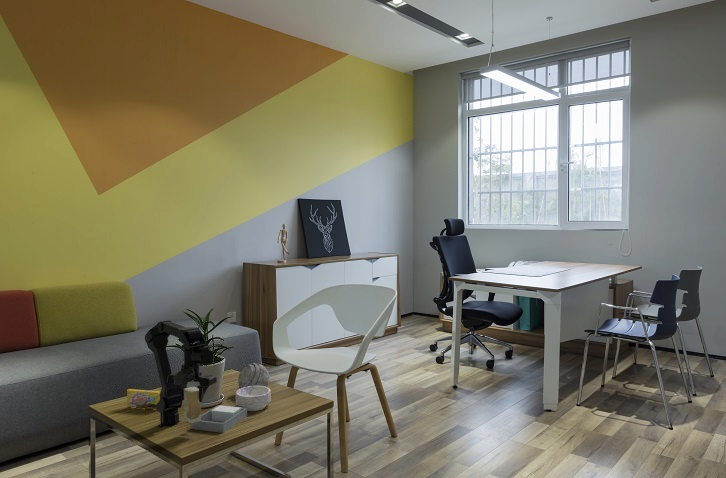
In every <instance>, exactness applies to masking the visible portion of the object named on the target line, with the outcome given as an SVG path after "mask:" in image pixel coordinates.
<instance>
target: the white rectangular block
mask: <svg viewBox="0 0 726 478" xmlns="http://www.w3.org/2000/svg"><path fill="white" fill-rule="evenodd" d="M215 407H216V406H215ZM240 411H241V407H240V406H229V405H219V406H218V407H216V408H215V409H213V410H212V420H217V421H227V420H228V419H230V418H231V417H233V416H234V415H236V414H237V413H239V412H240Z"/></svg>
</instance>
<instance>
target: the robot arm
mask: <svg viewBox="0 0 726 478" xmlns="http://www.w3.org/2000/svg"><path fill="white" fill-rule="evenodd" d="M170 336H173V337H175V338H178V342H180V343H181V346H180V349H182V350H183V364H181V368H180V370H179V371H175V372H172V368H171V365H170V361H169V356H168V353H167V352H168V351H167V346H168V343H169V338H170ZM206 340H207V339H205V336H204V335H203V332H202V331H201V329H200V328H199V327H197V326H190V327H189V326H188V327H187V326H183V325H181V324H178V323H175V322H172V320H169V319H168V320H162V321H160V320H159V322H157V323H156V325H154V326H153V327H152V328H150V329H149V330H148V331H147V332H146V333H145V335H144V341H145V343H146V346H147V347H148V349H149V350H150V351H151V352H152V353H153V355H154V359H155V364H156V368H157V373H158V376H159V382H160V385H161V389H160V394H159V397H160V400H159V402H158V403H157V405H156V410H155V411H156V412H158V413H160V414H159V416H160V417H159V419H160V423H159V424H158V425H157V427H161V428H163V427H170V428H171V427H173V426H176V425H177V424H179V423H180V422H181V420H180V413H179V409H181V408H182V407H183V403H184V389H185V388H188V383H193V382H195V383H199V385H197V386H196V388H198V389H199V401H200V402H201V403H202V402H203V400H204V398H205V395H206V394H207V391H208V389H209V387H210V386H212V385H214V384H216V383H217V381H218V379H217V376H216V375H214V374H206V375H203V376H202V374H203V373H202V372H201V371H200V366H201V365H204V366H208V365H210V364H211V363H212V362H213V360H214V353H213V351H212V350H211V349H209V348H210V347H209V346H208V345H207V344H208V343H207V342H206Z"/></svg>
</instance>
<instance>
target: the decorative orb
mask: <svg viewBox="0 0 726 478" xmlns="http://www.w3.org/2000/svg"><path fill="white" fill-rule="evenodd" d="M270 378H271V377H270V373H269V371H268V369H267V368H266V367H265V366H264V365H262V364H260V363H256V362H250V363H248V364H247V365H245V366H244V367H243V368H242V369H241V371H240V373H239V376H238V379H237V384H238V388H239V389H241V388H244V387H248V386H265V387H269V385H270V380H271V379H270Z"/></svg>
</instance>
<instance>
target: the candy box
mask: <svg viewBox="0 0 726 478" xmlns="http://www.w3.org/2000/svg"><path fill="white" fill-rule="evenodd" d="M160 391H161V390H160ZM160 391H158V390H146V389H134V388H128V389H127V390H126V399H127V408H128V407H136V408H145V409H153V410H152V411H157V410H156V405H157V403H158V402H159V400H160V397H159V394H160ZM145 409H144V410H145Z"/></svg>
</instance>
